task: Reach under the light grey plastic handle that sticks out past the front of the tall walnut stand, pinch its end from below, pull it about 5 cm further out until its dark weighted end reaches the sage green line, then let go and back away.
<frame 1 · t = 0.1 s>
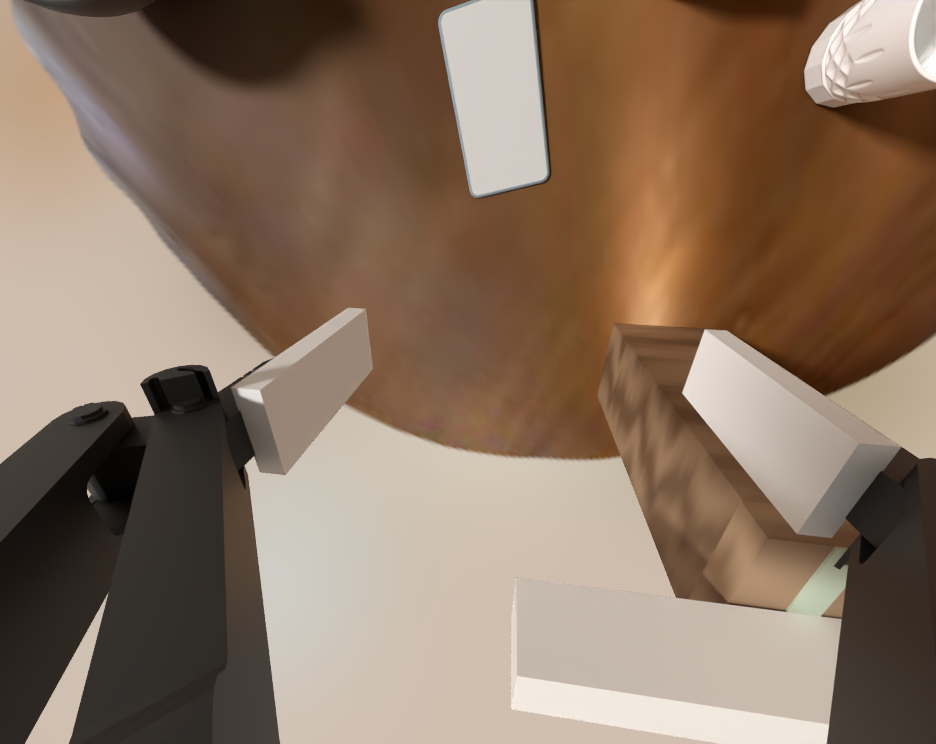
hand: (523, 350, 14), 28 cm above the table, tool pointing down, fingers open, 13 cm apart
tall stand: (655, 364, 43), on the table
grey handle: (900, 646, 16), point 30 cm above the table, touching tall stand
smartphone: (498, 105, 34), on the table
white cup: (848, 58, 29), on the table
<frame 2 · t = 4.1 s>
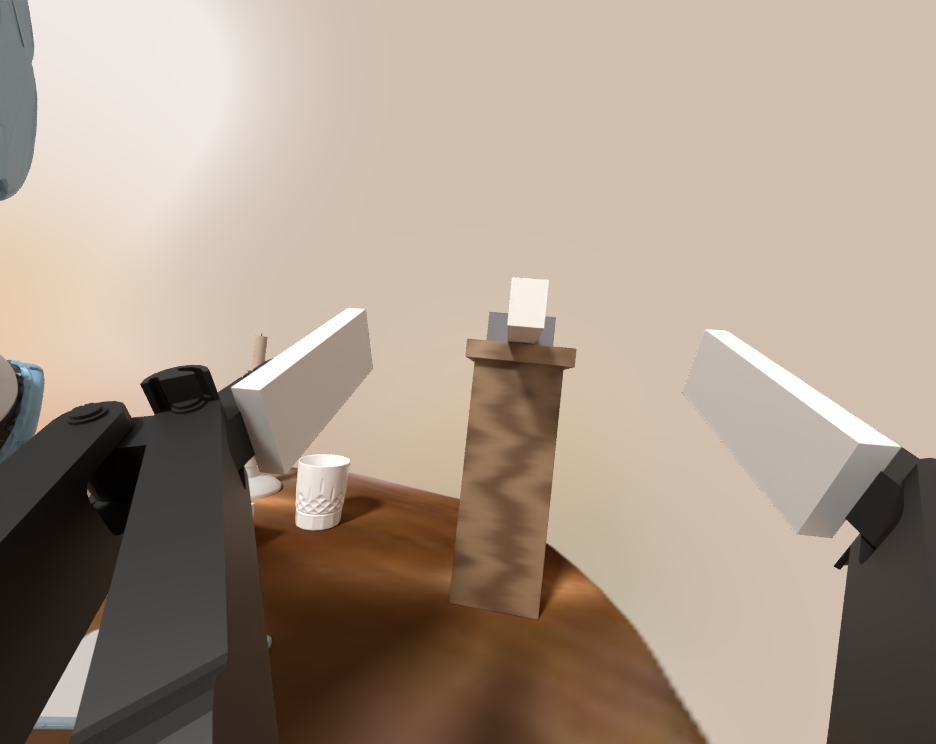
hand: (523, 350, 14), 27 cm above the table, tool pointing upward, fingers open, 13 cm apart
candlestick: (243, 490, 66), on the table
tall stand: (494, 580, 45), on the table
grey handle: (518, 350, 46), point 30 cm above the table, touching tall stand
smartphone: (149, 682, 27), on the table
white cup: (318, 523, 56), on the table
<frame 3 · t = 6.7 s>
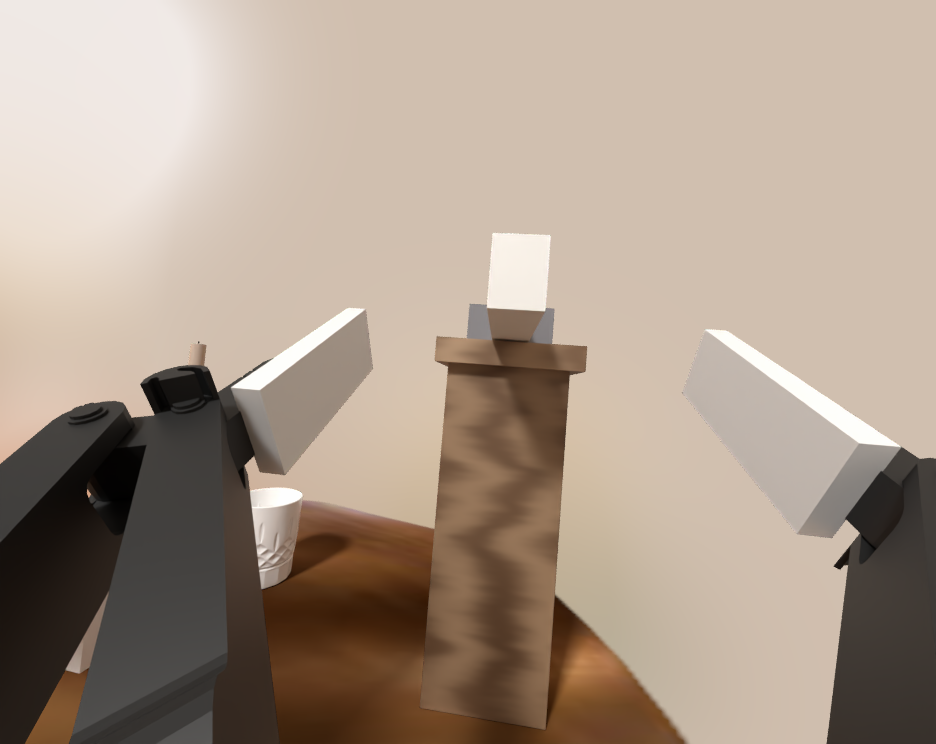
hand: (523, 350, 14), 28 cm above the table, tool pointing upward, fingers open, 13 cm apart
candlestick: (176, 532, 54), on the table
tall stand: (484, 660, 33), on the table
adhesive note: (93, 644, 32), on the table
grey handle: (508, 351, 36), point 30 cm above the table, touching tall stand
white cup: (261, 577, 44), on the table
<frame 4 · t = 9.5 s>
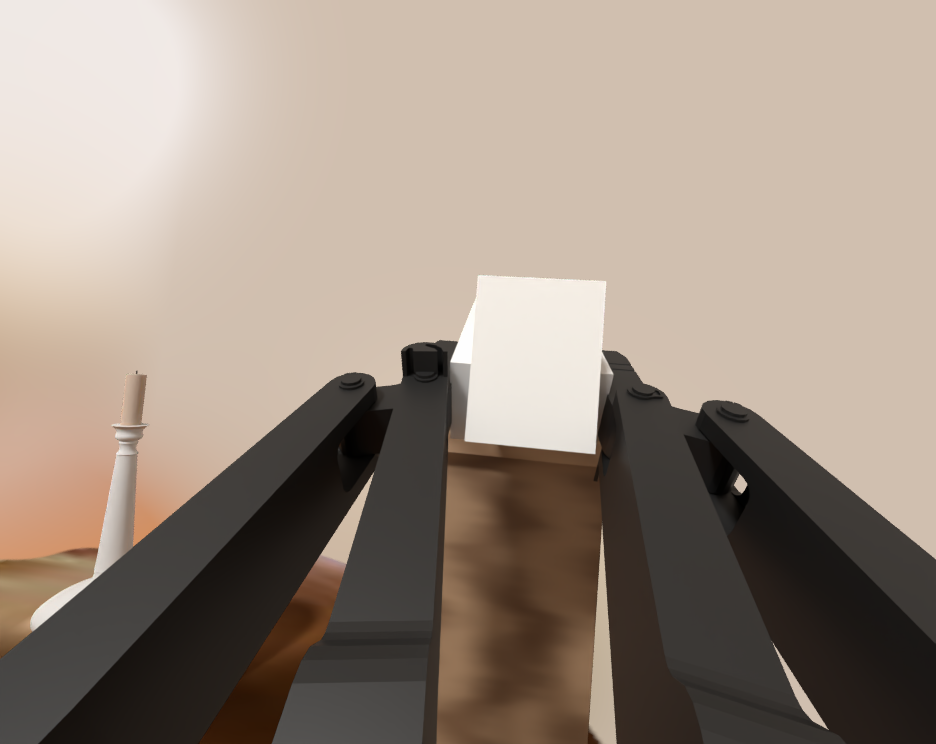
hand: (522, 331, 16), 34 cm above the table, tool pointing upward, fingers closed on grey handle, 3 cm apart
candlestick: (109, 603, 45), on the table
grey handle: (510, 409, 26), point 30 cm above the table, touching gripper, tall stand
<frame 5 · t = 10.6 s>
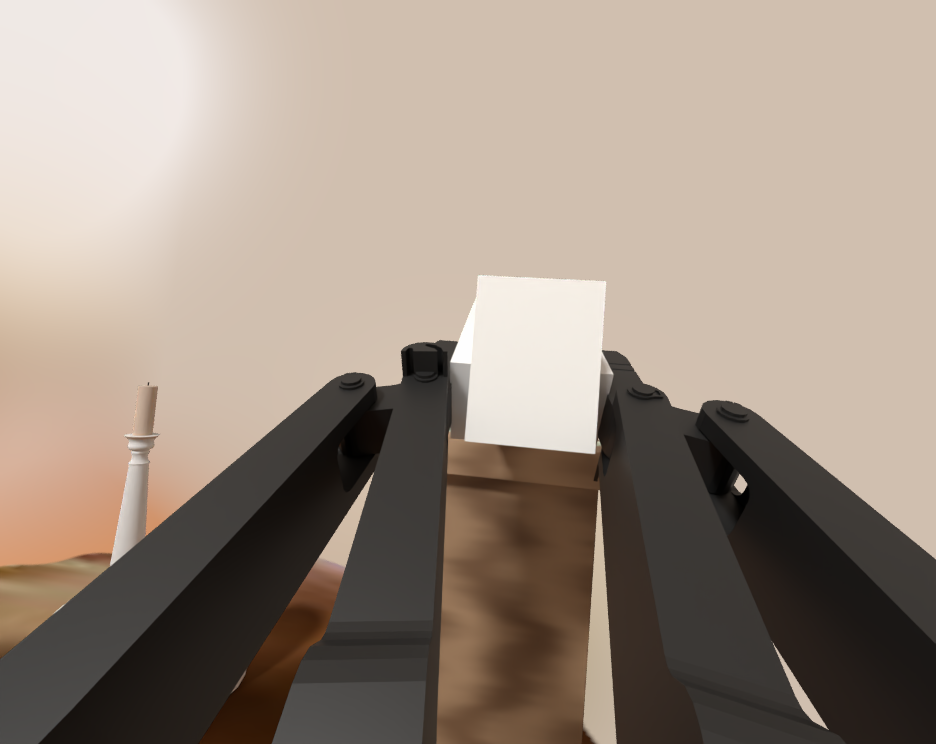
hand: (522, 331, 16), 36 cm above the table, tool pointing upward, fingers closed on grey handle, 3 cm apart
candlestick: (122, 608, 46), on the table
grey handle: (510, 409, 26), point 32 cm above the table, touching gripper
when the fingers open (35 cm above the table, at t = 11.8 s): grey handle stays where it is, resting on tall stand.
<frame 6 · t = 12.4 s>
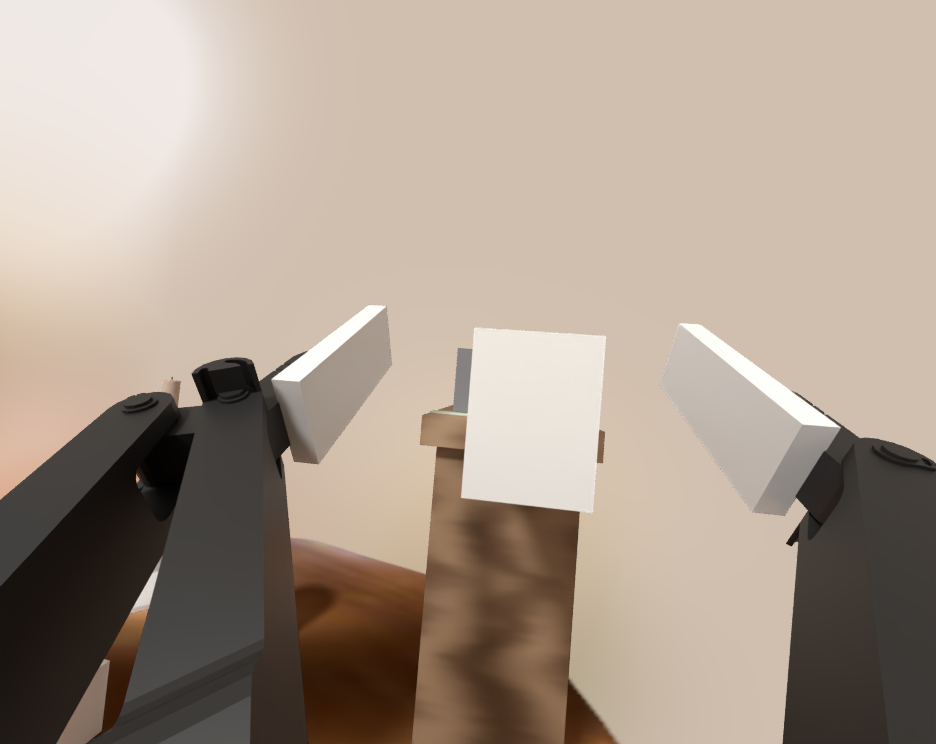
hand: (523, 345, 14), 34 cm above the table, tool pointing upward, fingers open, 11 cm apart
candlestick: (148, 587, 50), on the table
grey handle: (510, 417, 26), point 30 cm above the table, touching tall stand
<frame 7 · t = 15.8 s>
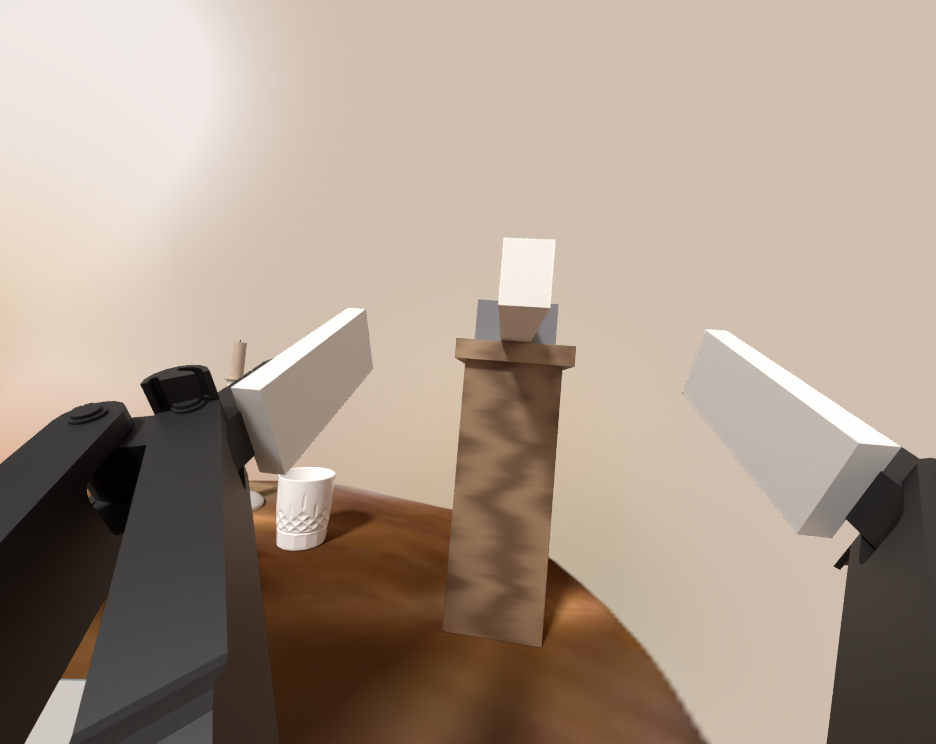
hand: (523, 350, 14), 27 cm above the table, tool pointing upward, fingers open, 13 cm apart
candlestick: (222, 507, 62), on the table
tall stand: (493, 602, 41), on the table
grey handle: (514, 344, 38), point 30 cm above the table, touching tall stand
white cup: (301, 542, 52), on the table
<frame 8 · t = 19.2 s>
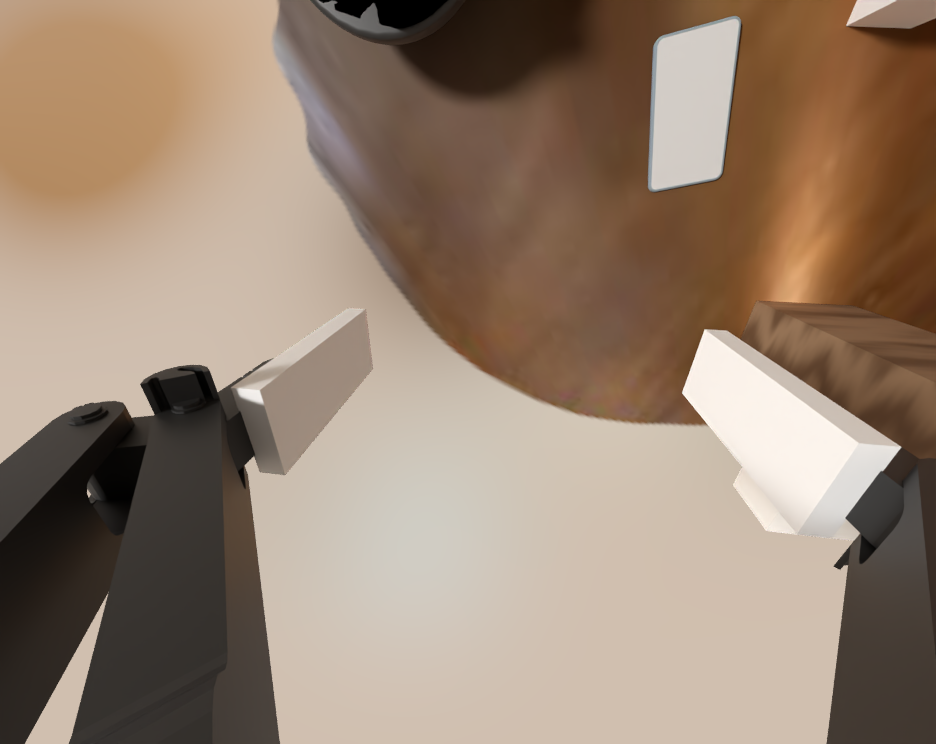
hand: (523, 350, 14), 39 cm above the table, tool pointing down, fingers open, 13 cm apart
tall stand: (787, 337, 49), on the table
smartphone: (687, 114, 40), on the table
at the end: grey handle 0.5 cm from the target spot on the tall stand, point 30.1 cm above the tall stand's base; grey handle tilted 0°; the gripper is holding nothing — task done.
